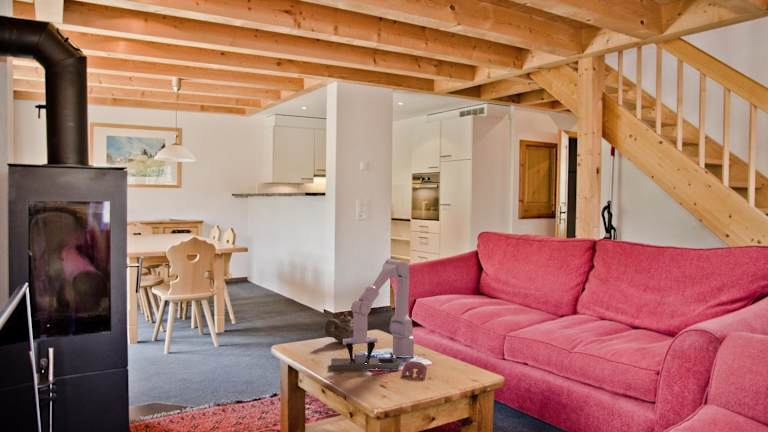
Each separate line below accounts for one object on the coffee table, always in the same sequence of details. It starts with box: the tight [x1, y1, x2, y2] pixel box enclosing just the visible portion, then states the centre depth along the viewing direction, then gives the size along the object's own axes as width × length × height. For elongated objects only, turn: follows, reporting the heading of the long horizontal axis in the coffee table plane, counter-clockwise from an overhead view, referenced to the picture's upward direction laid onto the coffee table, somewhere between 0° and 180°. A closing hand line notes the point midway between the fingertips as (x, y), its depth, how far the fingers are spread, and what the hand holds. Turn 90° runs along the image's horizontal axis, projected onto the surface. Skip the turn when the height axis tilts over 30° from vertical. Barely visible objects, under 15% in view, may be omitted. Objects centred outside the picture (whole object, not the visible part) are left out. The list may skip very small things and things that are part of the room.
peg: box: [353, 351, 367, 364], centre depth 234 cm, size 4×4×6 cm
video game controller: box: [401, 360, 428, 380], centre depth 225 cm, size 10×5×7 cm, turn 72°
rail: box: [330, 357, 400, 372], centre depth 234 cm, size 28×8×2 cm, turn 95°
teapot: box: [324, 311, 354, 344], centre depth 268 cm, size 21×12×15 cm, turn 130°
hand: (359, 360), depth 234 cm, fingers open, 7 cm apart
